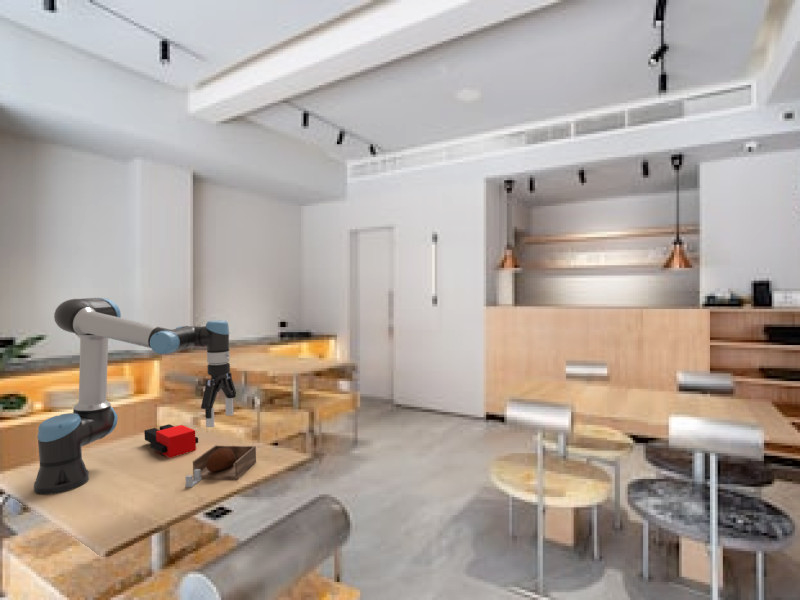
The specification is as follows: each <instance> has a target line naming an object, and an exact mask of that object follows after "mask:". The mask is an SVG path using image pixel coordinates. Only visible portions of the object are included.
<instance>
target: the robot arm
mask: <svg viewBox="0 0 800 600" xmlns="http://www.w3.org/2000/svg"><path fill="white" fill-rule="evenodd" d="M53 318H54V322H55V324H56V326H57V327H58V328H59V329H61V330H63V331H65V332H68V333H72V334H75V336H77V338H79V339H80V340H79V341H80V344H79V345H80V346H79V379H78V402H77V403H76V404H75V405H74V406H73V409H72V411H73V412H69V413H68V412H67V413H63V414H59V415H54V416H52V417H48V418H47V419H45V420H44V421H43V422H41V423H40V424H39V425H38V429H37V430H38V431H37V432H38V433H37V437H36V438H37V444H38V457H39V459H38V460H39V467H38V468H39V469H38V472H37V475H36V480H35V481H34V484H33V492H34V493H35V494H36V495H54V494H60V493H64V492H67V491H70V490H74V489H76V488H78V487H79V488H80V486H82V485H84V484H86V483H87V482H88V481H89V479H90V474H89V473H90V472H89V471H88V469H87V468H86V467H87V466H86V465H85V461H84V459H83V454H82V451H83V450H82V447H85V446H87V445H89V444H91V443H94V442H96V441H98V440H101V439H103V438H105V437H106V436H108V435H109V434H111V433H112V432H113V431H114V430H115V428H116V426H117V425H118V414H117V411H115V408H113V407H112V404H111V402H110V401H108V399H107V394H108V393H107V391H108V390H107V388H108V386H107V385H108V357H109V339H111V340H115V341H119V342H123V343H127V344H132V345H136V346H140V347H144V348H148V349H151V350H152V351H153V352H154V353H156V354H157V355H158V354H159V355H168V354H169V355H170V354H172V353H174V352H178V351H182V350H187V349H190V348H206V355H207V356H206V358H207V359H206V363H207V375H208V376H210V379H206V380H205V388H204V391H203V396H202V400H201V405H200V409H202V410H205V411H204V412H205V427H206V428H214V427H215V408H213V407H214V404H215V402H216V398H217V395H218V392H220V391H221V390H222V392H223V394H224V395H225V396H226V398H224V399H225V401H224V402H225V404H224V405H225V406H224V407H225V409H224V410H225V416H231V417H232V416H234V398H236V397H237V396H236V395H237V390H236V388H235V387H236V386H235V384H234V382H233V377H232V372H231V366H230V365H231V364H230V356H231V354H230V329H229V322H228V321H227V320H222V319H221V320H220V319H219V320H209V321H207V322H206V324H205V326H191V325H183V326H177V327H176V328H172V329H169V328H164V327H160V326H158V325H152V324H149V323H144V322H139V321H136V320H132V319H127V318H122V315H121V310H120V308H119V306H118V304H117V303H115V301H113V300H111V299H109V298H106V297H104V298H103V297H87V298H72V299H67V300H65V301H63V302H62V303H60V304H59V305H58V306H57V307H56V309H55V311H54V315H53Z"/></svg>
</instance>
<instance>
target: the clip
mask: <svg viewBox="0 0 800 600" xmlns="http://www.w3.org/2000/svg"><path fill="white" fill-rule="evenodd" d="M200 481H202V478H201V469H195V470H194V478H193V474H192V475H190V474H189V475H185V486H184V487H185V488H193V487H195V485H197V484H198V483H200Z"/></svg>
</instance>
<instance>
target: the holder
mask: <svg viewBox="0 0 800 600" xmlns="http://www.w3.org/2000/svg"><path fill="white" fill-rule="evenodd" d="M219 448H229V449H230V450H231V451H233V453H234V455H235V457H236V461H235V463H234V464H233V465H232V466H230V467H229V468H226V469H224V470H220V471H216V472H210V471H209V470H208V469H207V466H206V463H207V460H208V458H209V456H210V455H211V454H212V453H213V452H214V451H216V450H217V449H219ZM256 451H257V448H256V446H255V445H252V446H251V445H214V446H212V447H211V448H210V449H208V450H207V451H205V452H204V453H202V454H201V455H200V456H198V457H197V458H195V459H194V460H192V475H193V479H194V470H195V469H201V478H202V479H203V480H230V481H231V480H235V481H236V480H239V479H240V478H241V477H242V476H243V475H244V474H245V473H247V471H248V470H249V469H251V467H253V466H254V465H255V464H256V463H257V452H256Z"/></svg>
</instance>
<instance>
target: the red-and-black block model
mask: <svg viewBox="0 0 800 600" xmlns="http://www.w3.org/2000/svg"><path fill="white" fill-rule="evenodd" d="M143 434H144V440H145V441H146V442H147V443H150V447H151V448H152V449H153V450H155V451H156V452H158V453H160V454H162V455H164V456H166V457H167V458H169V459H171V457H172V458H174V456H175V457H177V455H178V456H181V455H184V453H185V454H188V453H191V452H194V451H197V444H199V437H197V436H196V430H195V429H193V428H190V427H188V426H185V425H183V424H180V425H176V426H175V425H172V424H169V423H168V424H165V425H162V426H161V425H160V426H159V429H158V428H156V427H154V428H149V429H145V430H144V433H143ZM151 448H150V449H151ZM187 452H188V453H187ZM180 454H181V455H180Z"/></svg>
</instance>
